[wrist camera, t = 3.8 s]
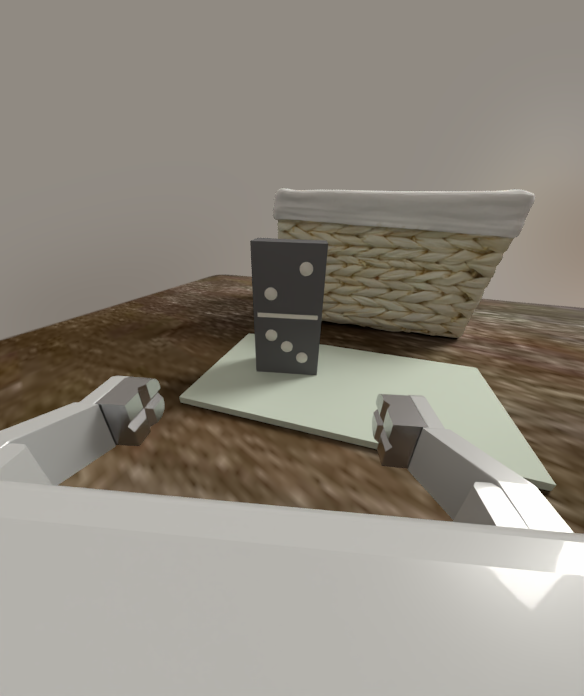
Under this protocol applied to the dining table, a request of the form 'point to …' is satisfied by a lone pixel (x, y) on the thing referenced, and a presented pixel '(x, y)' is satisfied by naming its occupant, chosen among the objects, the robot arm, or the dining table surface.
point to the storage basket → (405, 252)
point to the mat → (365, 400)
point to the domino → (288, 303)
